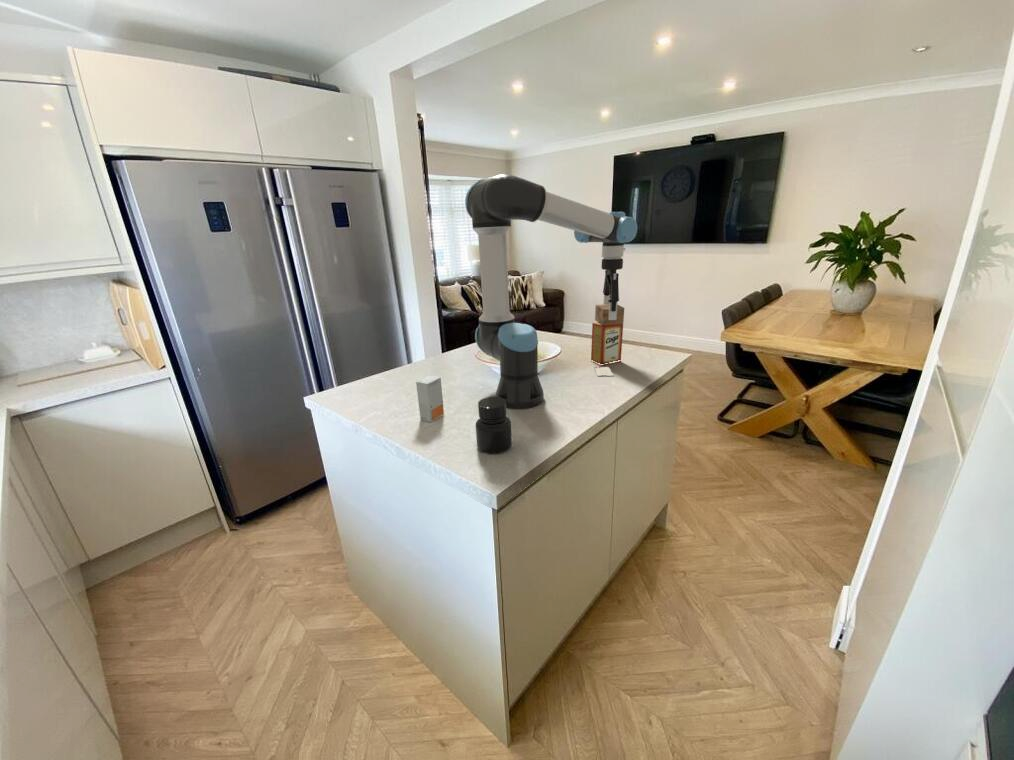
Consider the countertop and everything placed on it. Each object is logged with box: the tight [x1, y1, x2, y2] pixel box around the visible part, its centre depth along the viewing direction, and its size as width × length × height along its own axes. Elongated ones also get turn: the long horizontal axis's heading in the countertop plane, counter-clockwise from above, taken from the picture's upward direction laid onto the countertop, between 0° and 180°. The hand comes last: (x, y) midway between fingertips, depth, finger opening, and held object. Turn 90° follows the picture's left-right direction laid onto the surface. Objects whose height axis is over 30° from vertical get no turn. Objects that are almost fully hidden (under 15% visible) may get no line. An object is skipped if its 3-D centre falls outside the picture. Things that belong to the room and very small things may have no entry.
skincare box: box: [415, 375, 445, 423], centre depth 115 cm, size 6×4×12 cm
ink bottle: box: [475, 396, 513, 455], centre depth 98 cm, size 10×9×12 cm
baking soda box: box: [590, 321, 624, 364], centre depth 156 cm, size 10×6×16 cm
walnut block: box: [594, 304, 625, 325], centre depth 152 cm, size 9×8×6 cm
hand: (609, 316), depth 152 cm, fingers open, 13 cm apart
